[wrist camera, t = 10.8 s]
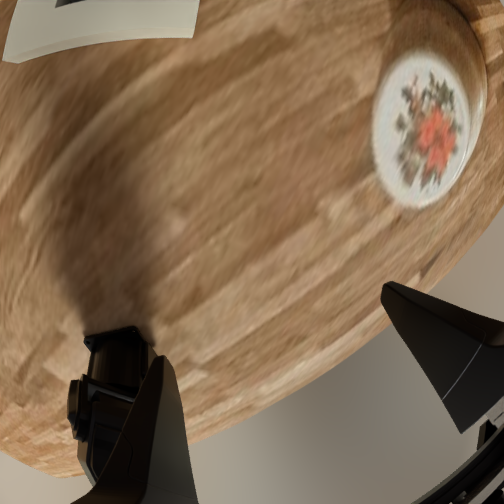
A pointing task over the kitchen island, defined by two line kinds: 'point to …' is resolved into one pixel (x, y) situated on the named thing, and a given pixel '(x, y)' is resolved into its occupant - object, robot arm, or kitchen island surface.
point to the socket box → (93, 24)
